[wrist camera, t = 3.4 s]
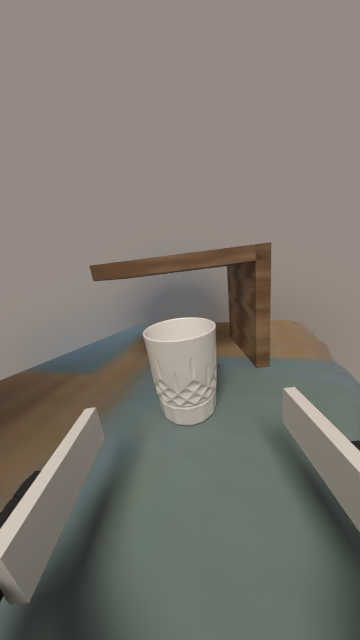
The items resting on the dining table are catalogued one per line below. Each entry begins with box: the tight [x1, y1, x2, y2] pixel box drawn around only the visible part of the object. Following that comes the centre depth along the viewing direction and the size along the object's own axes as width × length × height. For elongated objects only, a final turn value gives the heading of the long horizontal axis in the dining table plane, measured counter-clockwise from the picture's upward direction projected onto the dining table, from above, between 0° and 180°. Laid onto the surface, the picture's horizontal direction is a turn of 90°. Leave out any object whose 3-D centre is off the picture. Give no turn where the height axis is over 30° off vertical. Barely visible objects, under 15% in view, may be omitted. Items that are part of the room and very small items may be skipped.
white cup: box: [143, 318, 217, 426], centre depth 20 cm, size 8×8×10 cm
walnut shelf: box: [90, 243, 271, 368], centre depth 32 cm, size 14×24×18 cm, turn 90°
